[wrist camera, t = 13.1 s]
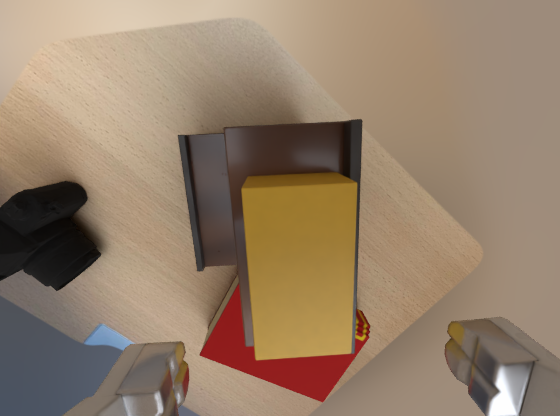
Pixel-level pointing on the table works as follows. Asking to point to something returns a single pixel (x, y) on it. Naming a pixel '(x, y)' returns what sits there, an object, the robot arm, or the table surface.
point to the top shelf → (281, 161)
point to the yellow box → (300, 263)
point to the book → (284, 372)
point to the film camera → (45, 235)
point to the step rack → (208, 198)
